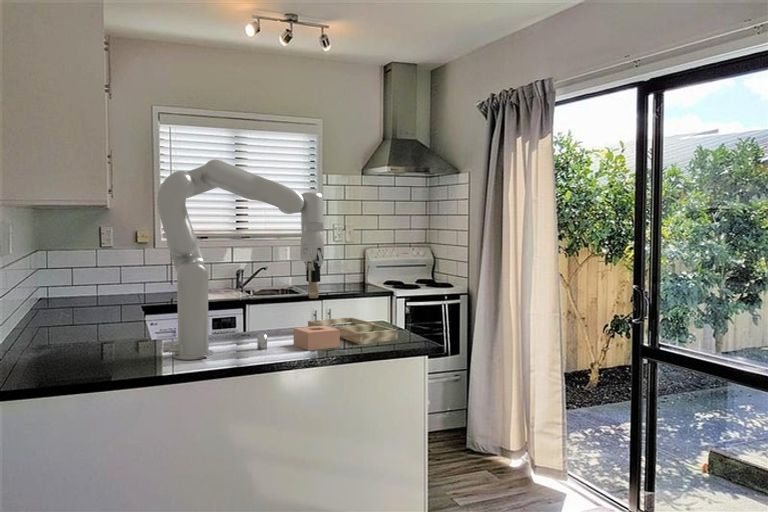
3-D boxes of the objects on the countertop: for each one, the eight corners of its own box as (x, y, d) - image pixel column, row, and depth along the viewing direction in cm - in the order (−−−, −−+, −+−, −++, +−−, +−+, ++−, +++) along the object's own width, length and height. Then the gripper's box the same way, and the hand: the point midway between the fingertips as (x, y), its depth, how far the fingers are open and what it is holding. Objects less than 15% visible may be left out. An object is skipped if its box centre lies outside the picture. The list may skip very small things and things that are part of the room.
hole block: (308, 350, 202) (308, 332, 202) (293, 345, 212) (293, 328, 212) (339, 347, 208) (339, 329, 208) (324, 341, 218) (324, 325, 218)
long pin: (311, 298, 206) (310, 263, 206) (307, 297, 209) (306, 263, 208) (319, 297, 208) (319, 262, 207) (315, 296, 210) (315, 262, 210)
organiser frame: (354, 345, 211) (354, 334, 211) (308, 330, 243) (307, 321, 243) (401, 340, 222) (401, 329, 222) (351, 326, 254) (351, 317, 254)
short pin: (259, 350, 202) (259, 335, 202) (256, 348, 205) (255, 334, 205) (268, 349, 204) (268, 334, 204) (264, 347, 207) (264, 333, 207)
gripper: (292, 228, 212) (293, 280, 213) (312, 228, 198) (313, 283, 199) (312, 228, 216) (313, 279, 217) (333, 228, 202) (333, 282, 203)
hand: (313, 281), depth 208 cm, fingers closed on long pin, 3 cm apart
